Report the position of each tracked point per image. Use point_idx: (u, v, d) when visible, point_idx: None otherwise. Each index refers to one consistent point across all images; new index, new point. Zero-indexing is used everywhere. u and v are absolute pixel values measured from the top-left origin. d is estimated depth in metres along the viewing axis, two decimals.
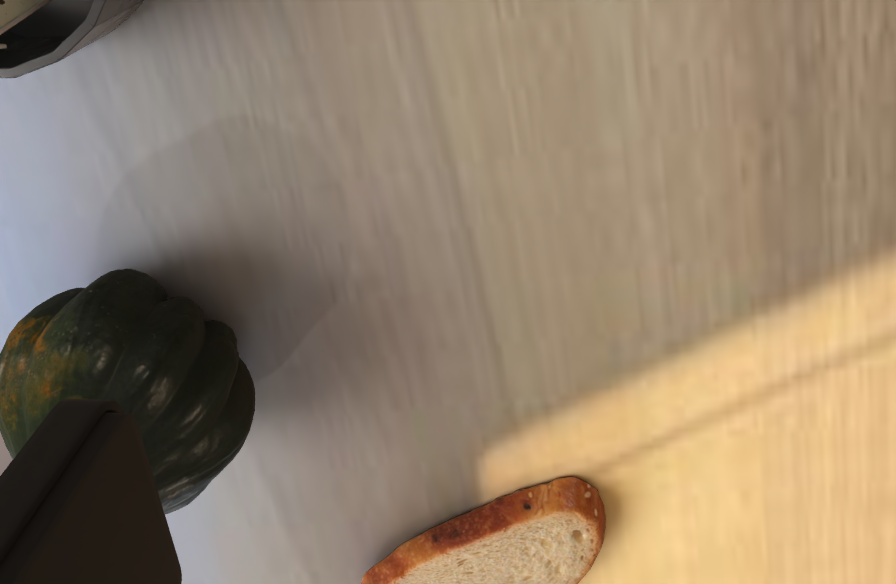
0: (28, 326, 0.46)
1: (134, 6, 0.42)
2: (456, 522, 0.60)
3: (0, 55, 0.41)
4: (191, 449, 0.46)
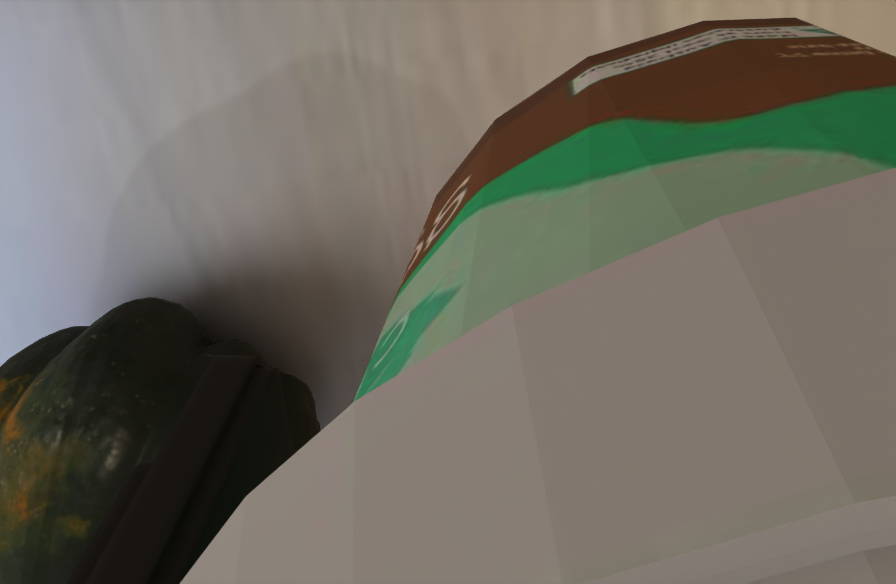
0: None
1: None
2: None
3: None
4: None
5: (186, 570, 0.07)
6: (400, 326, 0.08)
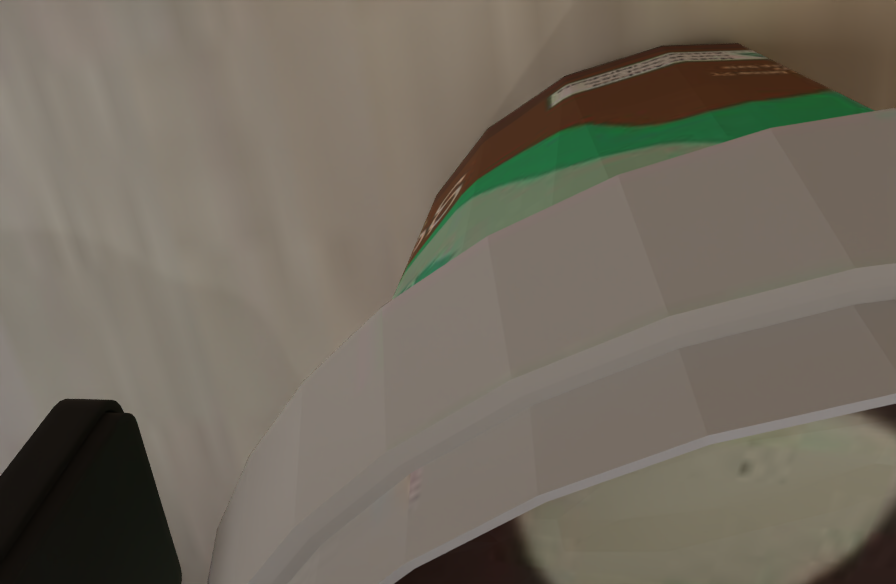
0: None
1: None
2: None
3: None
4: None
5: None
6: (408, 289, 0.10)
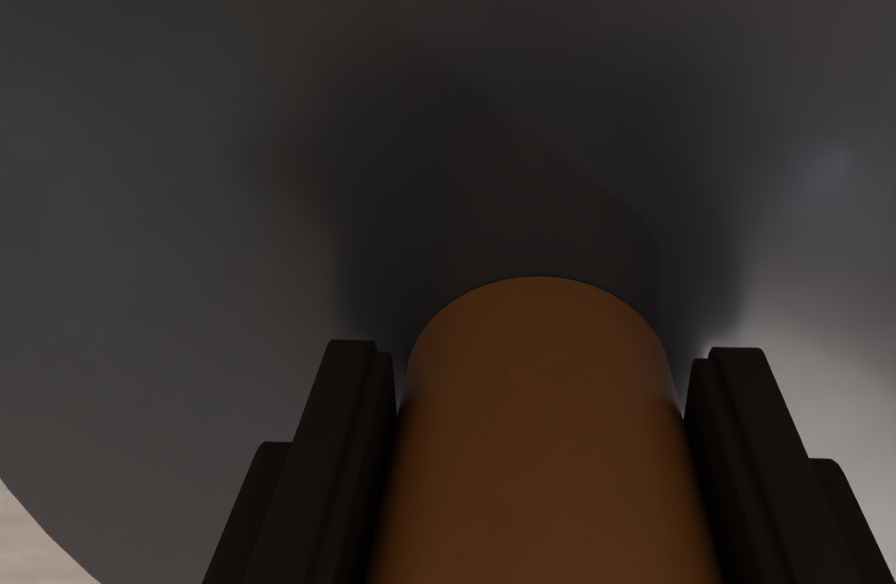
0: None
1: None
2: None
3: None
4: None
5: (343, 542, 0.07)
6: None
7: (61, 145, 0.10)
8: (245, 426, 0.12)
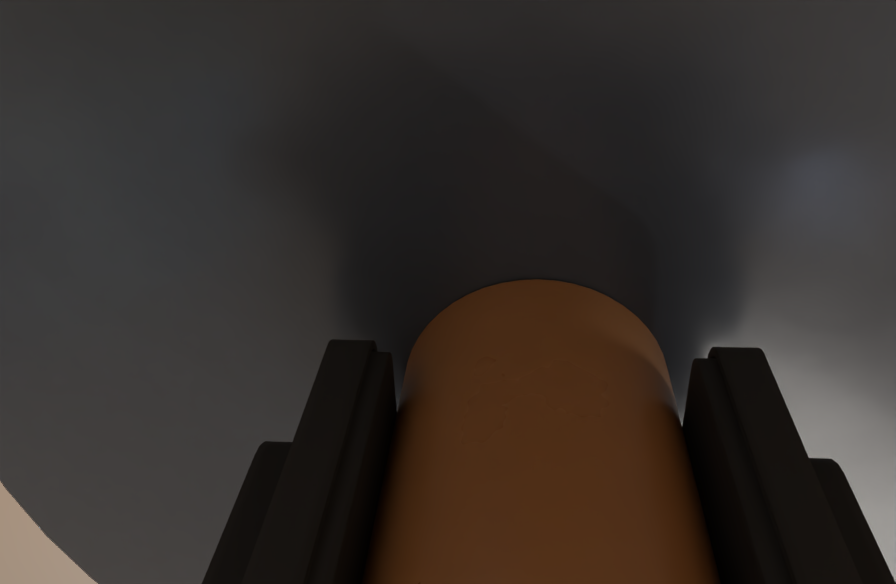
0: None
1: None
2: None
3: None
4: None
5: (343, 542, 0.07)
6: None
7: (61, 149, 0.10)
8: (244, 429, 0.12)
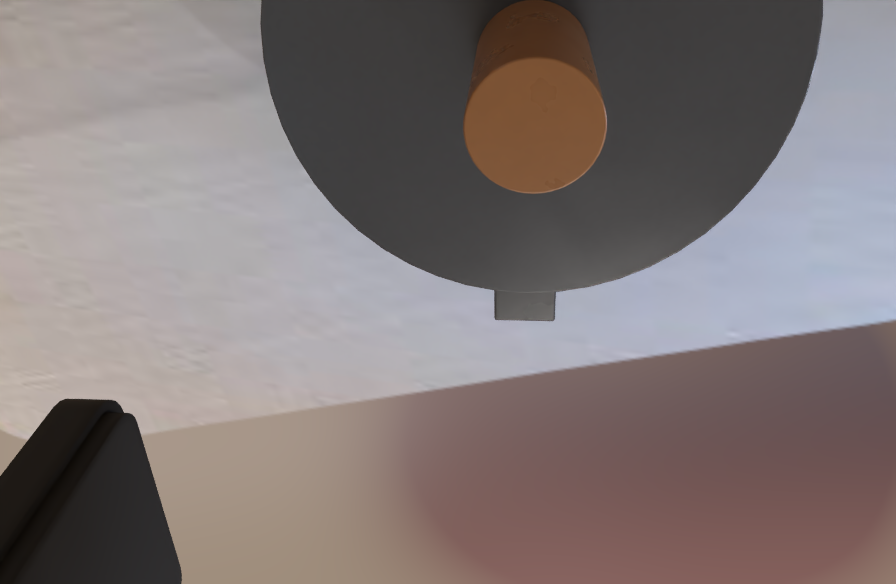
0: None
1: None
2: None
3: None
4: None
5: None
6: None
7: None
8: (401, 85, 0.27)
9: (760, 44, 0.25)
